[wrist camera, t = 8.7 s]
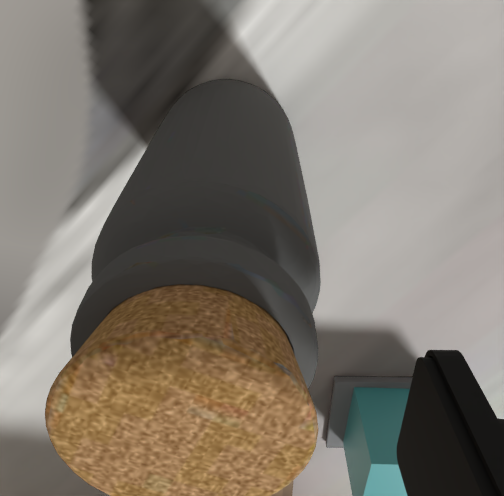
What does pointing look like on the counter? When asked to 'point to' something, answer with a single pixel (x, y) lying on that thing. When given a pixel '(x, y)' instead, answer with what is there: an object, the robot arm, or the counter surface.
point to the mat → (343, 401)
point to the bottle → (198, 313)
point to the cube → (375, 441)
